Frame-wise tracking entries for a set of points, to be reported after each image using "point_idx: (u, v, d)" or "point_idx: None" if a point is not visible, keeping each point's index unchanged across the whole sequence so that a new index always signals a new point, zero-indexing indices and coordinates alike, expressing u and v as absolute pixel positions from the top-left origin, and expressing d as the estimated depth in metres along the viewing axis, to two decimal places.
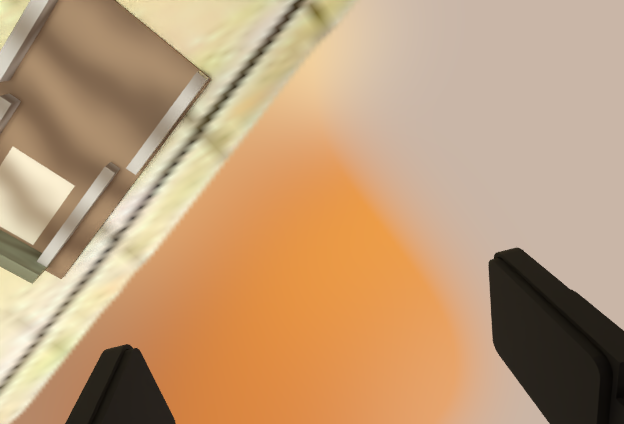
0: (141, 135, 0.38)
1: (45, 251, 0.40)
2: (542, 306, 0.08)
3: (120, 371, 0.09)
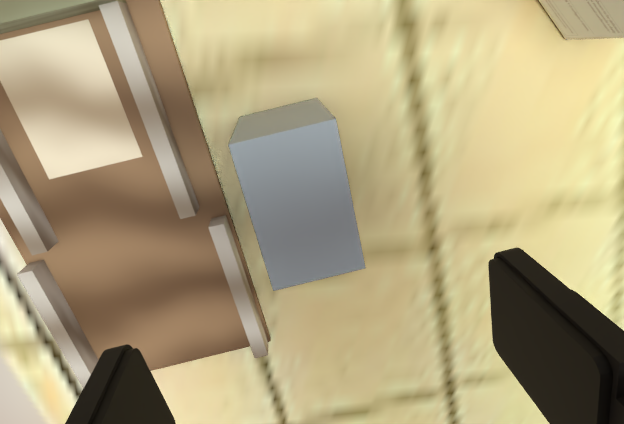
0: (73, 292, 0.29)
1: None
2: (542, 306, 0.08)
3: (120, 371, 0.09)
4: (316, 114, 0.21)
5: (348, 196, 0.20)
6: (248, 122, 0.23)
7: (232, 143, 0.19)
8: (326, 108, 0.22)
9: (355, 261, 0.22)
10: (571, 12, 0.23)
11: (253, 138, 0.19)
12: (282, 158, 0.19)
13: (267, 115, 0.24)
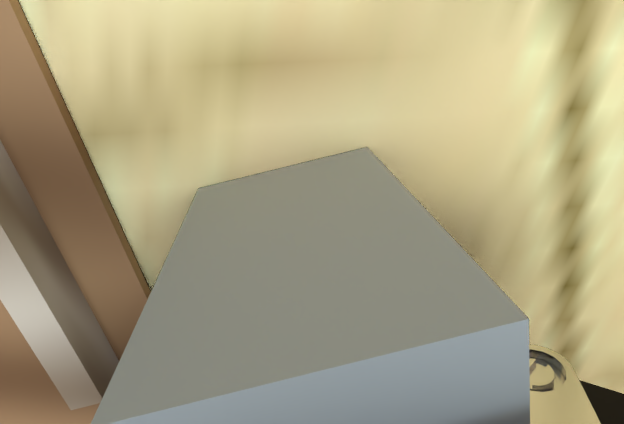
0: None
1: None
2: None
3: None
4: (407, 241, 0.07)
5: None
6: (208, 227, 0.09)
7: (109, 415, 0.05)
8: None
9: None
10: None
11: (193, 394, 0.05)
12: None
13: (257, 201, 0.10)
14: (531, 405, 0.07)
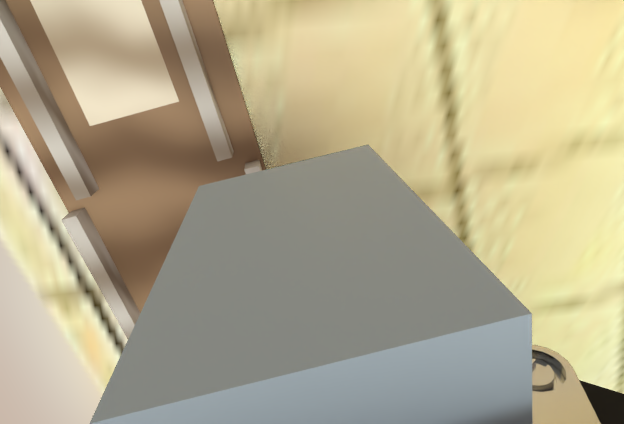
0: (113, 240, 0.30)
1: None
2: None
3: None
4: (409, 237, 0.07)
5: None
6: (209, 224, 0.09)
7: (110, 410, 0.05)
8: (426, 205, 0.08)
9: None
10: None
11: (195, 389, 0.05)
12: None
13: (258, 198, 0.10)
14: None
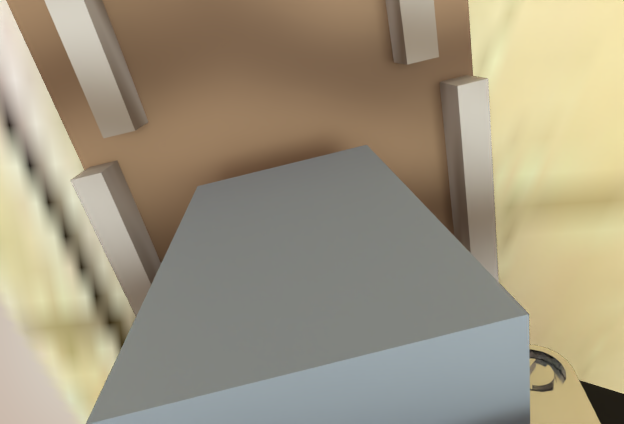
0: (167, 229, 0.16)
1: None
2: None
3: None
4: (406, 238, 0.07)
5: None
6: (207, 224, 0.09)
7: (106, 411, 0.05)
8: (424, 205, 0.08)
9: None
10: None
11: (191, 390, 0.05)
12: None
13: (256, 199, 0.10)
14: (531, 405, 0.07)
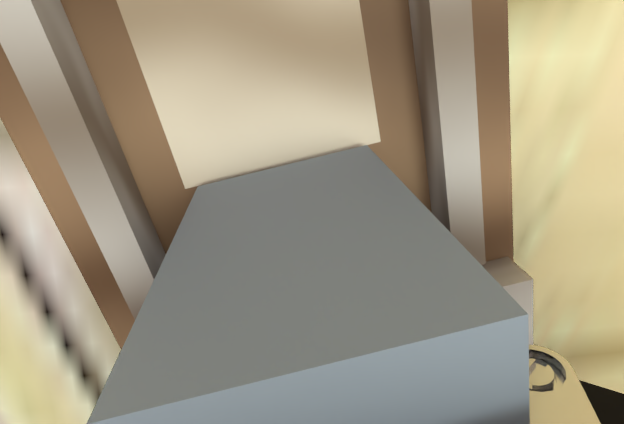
0: None
1: None
2: None
3: None
4: (406, 238, 0.07)
5: None
6: (207, 225, 0.09)
7: (107, 410, 0.05)
8: (424, 205, 0.08)
9: None
10: None
11: (192, 390, 0.05)
12: None
13: (257, 199, 0.10)
14: (531, 405, 0.07)
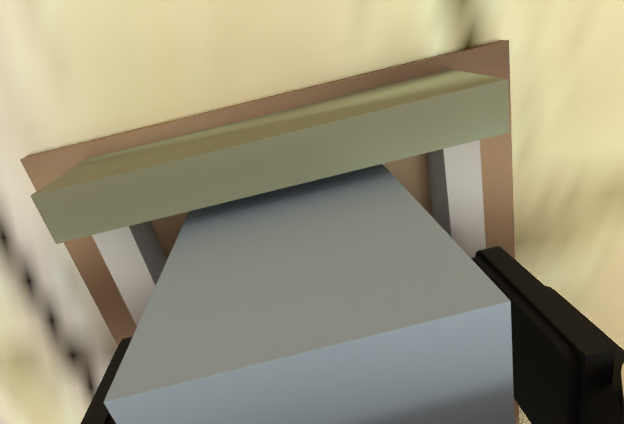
0: None
1: (137, 259, 0.11)
2: (517, 302, 0.08)
3: None
4: (401, 233, 0.07)
5: None
6: (211, 221, 0.09)
7: (122, 390, 0.05)
8: (418, 202, 0.08)
9: None
10: None
11: (200, 371, 0.05)
12: None
13: (258, 196, 0.10)
14: None
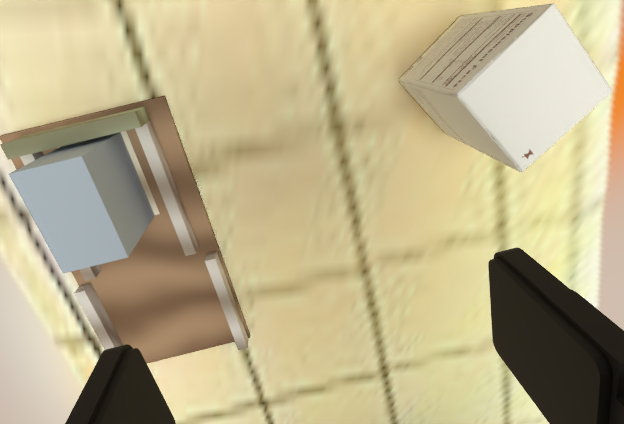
0: (110, 304, 0.41)
1: None
2: (542, 306, 0.08)
3: (120, 371, 0.09)
4: (85, 150, 0.30)
5: (103, 207, 0.29)
6: (53, 153, 0.32)
7: (12, 172, 0.28)
8: (99, 144, 0.31)
9: (119, 252, 0.31)
10: (441, 124, 0.36)
11: (26, 169, 0.28)
12: (49, 182, 0.28)
13: (71, 147, 0.33)
14: None
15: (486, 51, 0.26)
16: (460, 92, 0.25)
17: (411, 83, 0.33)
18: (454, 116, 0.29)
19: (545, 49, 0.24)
